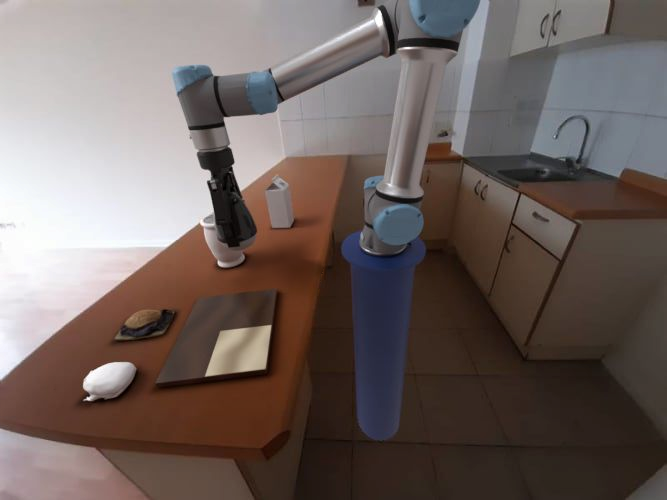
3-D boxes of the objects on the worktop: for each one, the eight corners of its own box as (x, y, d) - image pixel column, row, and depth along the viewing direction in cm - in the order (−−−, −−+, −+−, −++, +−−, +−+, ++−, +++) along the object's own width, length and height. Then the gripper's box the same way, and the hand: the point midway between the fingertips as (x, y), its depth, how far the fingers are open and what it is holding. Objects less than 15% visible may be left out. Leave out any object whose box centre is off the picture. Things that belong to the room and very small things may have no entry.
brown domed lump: (113, 343, 61) (105, 332, 59) (133, 316, 68) (126, 305, 66) (162, 337, 62) (156, 325, 60) (177, 311, 69) (171, 299, 67)
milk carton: (272, 228, 107) (262, 179, 97) (277, 220, 113) (268, 174, 103) (289, 228, 106) (282, 179, 96) (294, 220, 112) (287, 173, 102)
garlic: (78, 404, 49) (66, 391, 47) (103, 370, 55) (94, 358, 53) (124, 400, 49) (114, 387, 47) (144, 367, 55) (136, 354, 53)
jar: (217, 255, 92) (203, 213, 84) (249, 250, 93) (238, 208, 86) (212, 272, 83) (195, 227, 75) (247, 267, 84) (235, 222, 77)
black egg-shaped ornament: (235, 260, 68) (217, 201, 61) (214, 248, 74) (195, 194, 67) (268, 243, 75) (255, 188, 67) (246, 233, 81) (232, 182, 73)
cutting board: (277, 293, 72) (276, 288, 72) (267, 374, 52) (265, 368, 51) (199, 301, 71) (197, 296, 71) (157, 388, 51) (154, 382, 50)
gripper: (211, 142, 72) (233, 220, 83) (176, 161, 52) (212, 261, 63) (240, 139, 72) (258, 217, 83) (216, 157, 52) (245, 257, 63)
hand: (238, 236), depth 73 cm, fingers closed on black egg-shaped ornament, 10 cm apart
